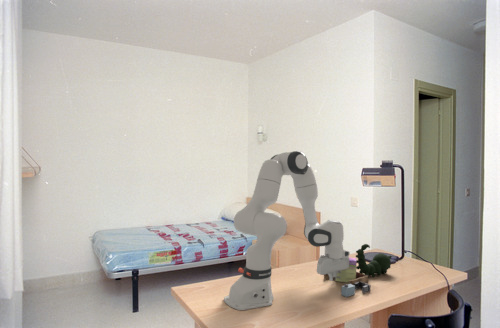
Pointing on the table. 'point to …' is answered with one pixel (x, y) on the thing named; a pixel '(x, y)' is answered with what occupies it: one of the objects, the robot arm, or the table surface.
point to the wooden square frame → (359, 277)
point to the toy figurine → (372, 263)
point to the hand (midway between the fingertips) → (332, 280)
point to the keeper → (362, 286)
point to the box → (348, 272)
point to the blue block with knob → (348, 290)
